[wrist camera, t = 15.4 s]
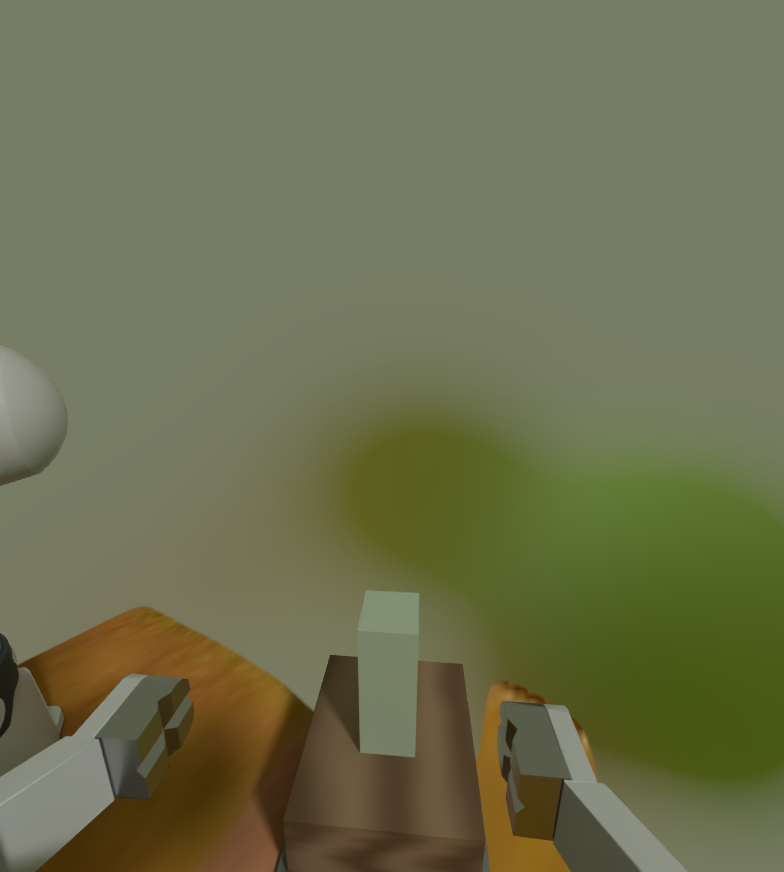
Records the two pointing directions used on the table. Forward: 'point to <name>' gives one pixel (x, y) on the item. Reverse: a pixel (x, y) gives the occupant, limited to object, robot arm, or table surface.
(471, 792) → the base
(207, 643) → the table surface
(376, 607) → the pillar
